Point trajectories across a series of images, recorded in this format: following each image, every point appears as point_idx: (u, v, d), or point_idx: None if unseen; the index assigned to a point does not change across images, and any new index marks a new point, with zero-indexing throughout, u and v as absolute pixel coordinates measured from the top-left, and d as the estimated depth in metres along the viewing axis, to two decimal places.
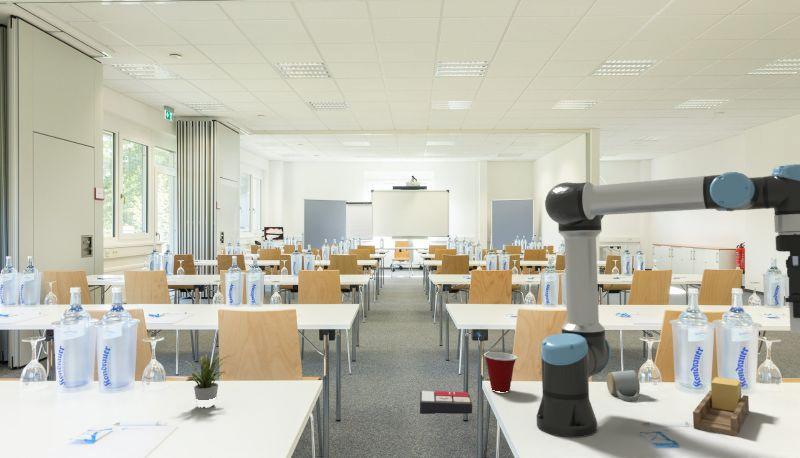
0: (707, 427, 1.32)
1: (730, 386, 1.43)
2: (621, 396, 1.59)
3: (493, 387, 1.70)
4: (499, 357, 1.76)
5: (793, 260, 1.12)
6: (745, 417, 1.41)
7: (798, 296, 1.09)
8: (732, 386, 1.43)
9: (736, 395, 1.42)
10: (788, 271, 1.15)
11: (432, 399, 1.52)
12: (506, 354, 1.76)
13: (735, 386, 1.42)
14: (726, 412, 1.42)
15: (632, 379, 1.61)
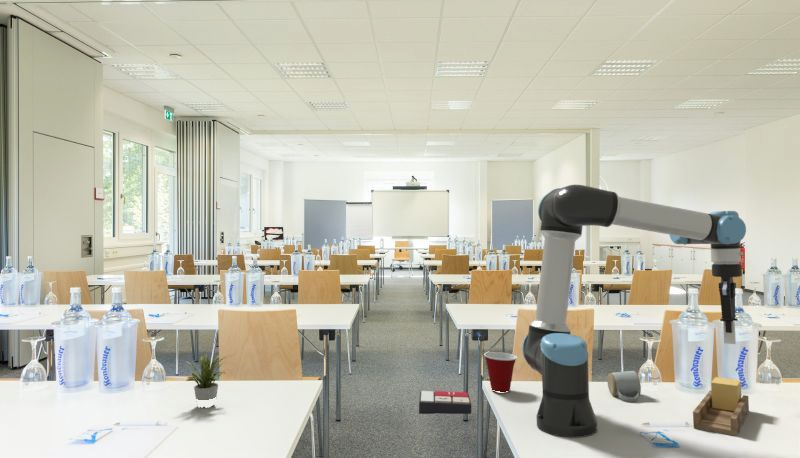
0: (707, 427, 1.32)
1: (730, 386, 1.43)
2: (622, 397, 1.58)
3: (493, 387, 1.70)
4: (499, 357, 1.76)
5: (723, 292, 1.50)
6: (745, 417, 1.41)
7: (728, 318, 1.51)
8: (732, 386, 1.43)
9: (736, 395, 1.42)
10: None
11: (431, 399, 1.52)
12: (506, 354, 1.76)
13: (735, 386, 1.42)
14: (726, 412, 1.42)
15: (633, 380, 1.60)
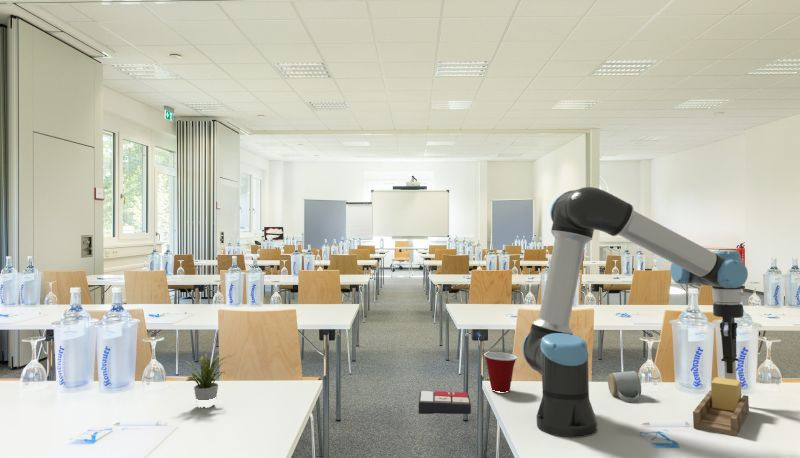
0: (707, 427, 1.32)
1: (730, 386, 1.43)
2: (622, 397, 1.58)
3: (493, 387, 1.70)
4: (499, 357, 1.76)
5: (724, 333, 1.50)
6: (745, 417, 1.41)
7: (729, 359, 1.51)
8: (732, 386, 1.43)
9: (736, 395, 1.42)
10: None
11: (431, 399, 1.52)
12: (506, 354, 1.76)
13: (735, 386, 1.42)
14: (726, 412, 1.42)
15: (633, 380, 1.60)
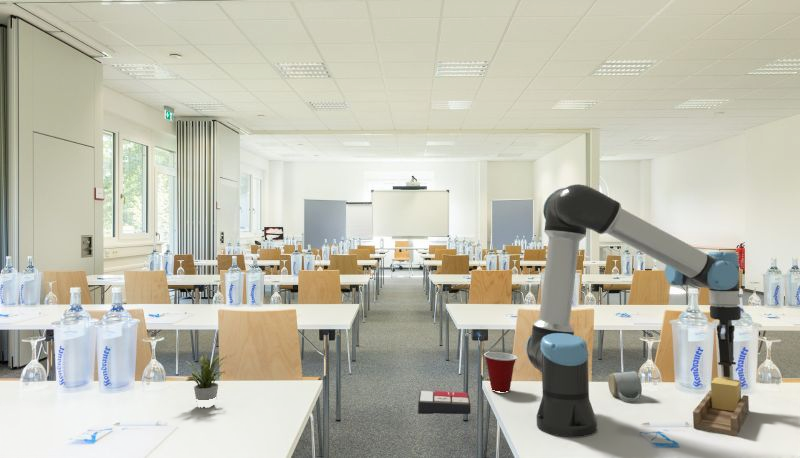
0: (707, 427, 1.32)
1: (730, 386, 1.43)
2: (623, 397, 1.57)
3: (493, 387, 1.70)
4: (499, 357, 1.76)
5: (721, 336, 1.46)
6: (745, 417, 1.41)
7: (726, 363, 1.47)
8: (732, 386, 1.43)
9: (736, 395, 1.42)
10: None
11: (430, 399, 1.52)
12: (506, 354, 1.76)
13: (735, 386, 1.42)
14: (726, 412, 1.42)
15: (634, 380, 1.60)
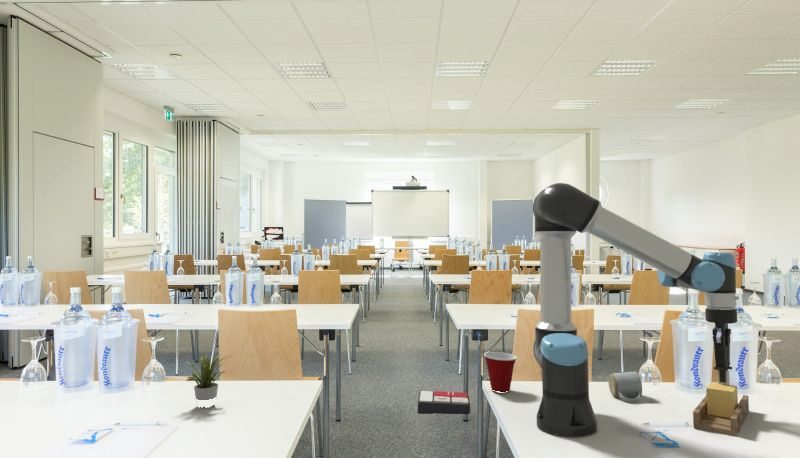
0: (707, 427, 1.32)
1: (726, 392, 1.37)
2: (623, 398, 1.57)
3: (493, 387, 1.70)
4: (499, 357, 1.76)
5: (717, 340, 1.40)
6: (745, 417, 1.41)
7: (722, 368, 1.42)
8: (728, 392, 1.37)
9: (732, 401, 1.37)
10: None
11: (430, 399, 1.52)
12: (506, 354, 1.76)
13: (731, 392, 1.37)
14: None
15: (634, 381, 1.59)
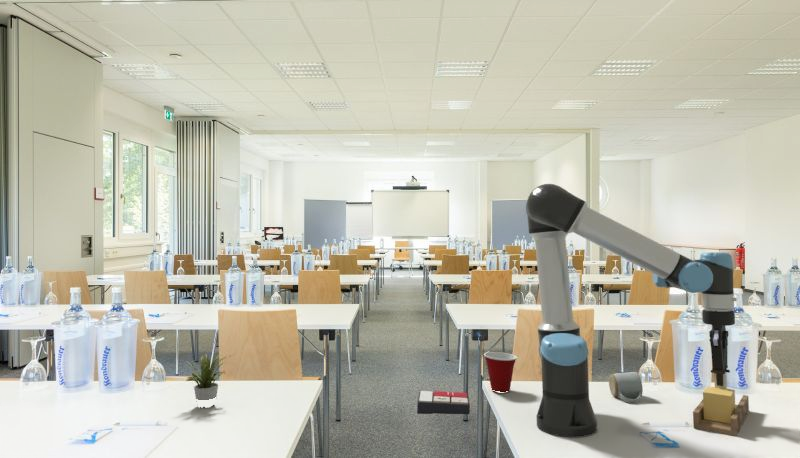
0: (707, 427, 1.32)
1: (723, 396, 1.34)
2: (624, 398, 1.57)
3: (493, 387, 1.70)
4: (499, 357, 1.76)
5: (714, 343, 1.37)
6: (745, 417, 1.41)
7: (719, 371, 1.38)
8: (725, 396, 1.34)
9: (729, 406, 1.33)
10: None
11: (430, 399, 1.52)
12: (506, 354, 1.76)
13: (728, 396, 1.33)
14: None
15: (635, 381, 1.59)
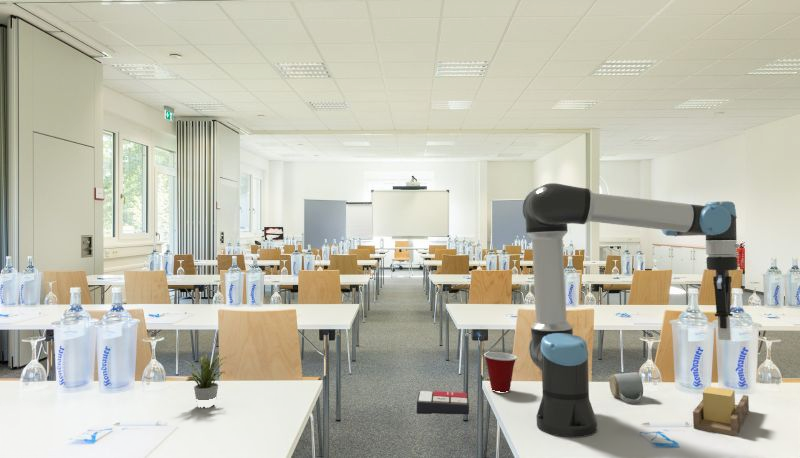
0: (707, 427, 1.32)
1: (723, 397, 1.34)
2: (624, 399, 1.56)
3: (493, 387, 1.70)
4: (499, 357, 1.76)
5: (717, 286, 1.44)
6: (745, 417, 1.41)
7: (723, 313, 1.45)
8: (725, 397, 1.33)
9: (729, 406, 1.33)
10: None
11: (429, 399, 1.52)
12: (506, 354, 1.76)
13: (728, 397, 1.33)
14: None
15: (635, 381, 1.58)
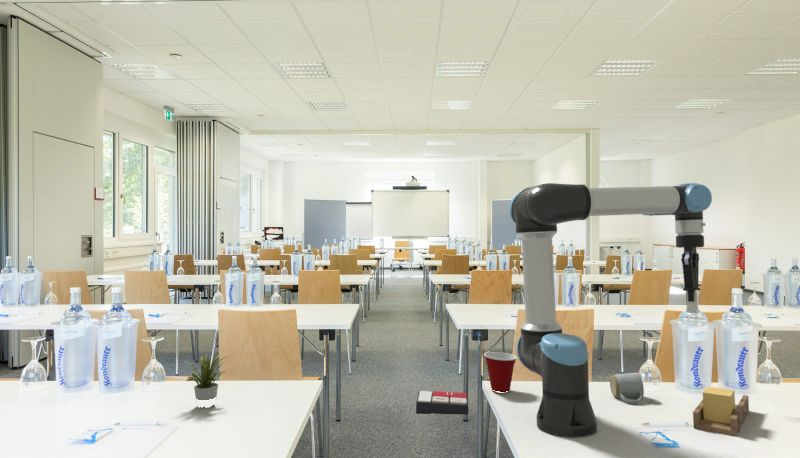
0: (707, 427, 1.32)
1: (723, 397, 1.34)
2: (625, 399, 1.56)
3: (493, 387, 1.70)
4: (499, 357, 1.76)
5: (685, 262, 1.54)
6: (745, 417, 1.41)
7: (690, 287, 1.56)
8: (725, 397, 1.33)
9: (729, 406, 1.33)
10: None
11: (428, 399, 1.52)
12: (506, 354, 1.76)
13: (728, 397, 1.33)
14: None
15: (636, 382, 1.58)
